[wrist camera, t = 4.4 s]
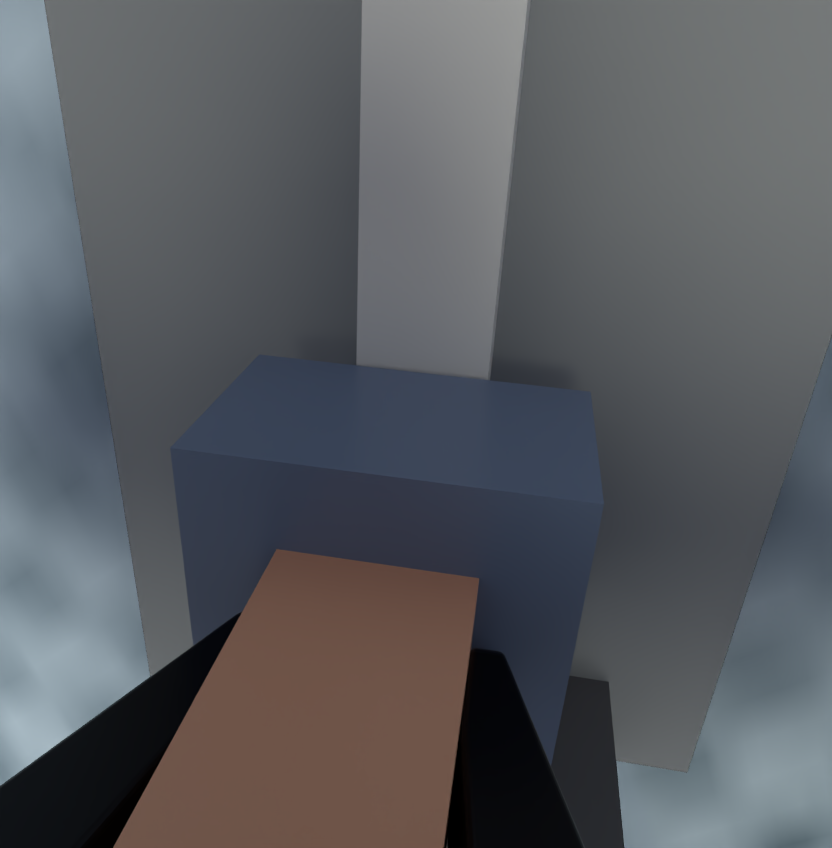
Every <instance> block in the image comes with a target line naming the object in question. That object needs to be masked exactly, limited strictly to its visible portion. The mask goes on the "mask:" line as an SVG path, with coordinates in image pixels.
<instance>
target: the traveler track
mask: <svg viewBox="0 0 832 848" xmlns="http://www.w3.org/2000/svg"><path fill="white" fill-rule="evenodd" d="M44 2H45V9H46V15H47V21H48V28H49V34H50V40H51V47H52V53H53V60H54V66H55V72H56V79H57V85H58V91H59V98H60V104H61V111H62V117H63V123H64V130H65V136H66V142H67V149H68V155H69V161H70V168H71V174H72V181H73V187H74V193H75V200H76V206H77V212H78V219H79V225H80V231H81V238H82V244H83V251H84V257H85V263H86V270H87V276H88V282H89V289H90V295H91V301H92V308H93V314H94V321H95V327H96V333H97V340H98V346H99V352H100V359H101V365H102V371H103V378H104V384H105V391H106V397H107V403H108V410H109V416H110V422H111V429H112V435H113V441H114V448H115V454H116V461H117V467H118V473H119V480H120V486H121V492H122V499H123V505H124V512H125V518H126V524H127V531H128V537H129V543H130V550H131V556H132V562H133V569H134V575H135V582H136V588H137V594H138V601H139V607H140V613H141V620H142V626H143V632H144V639H145V645H146V652H147V658H148V664H149V671H150V677H151V676H152V675H153V674H155V673H156V672H158V671H159V670H160V669H162V668H163V667H164V666H166V665H167V664H169V663H170V662H171V661H173V660H174V659H175V658H177V657H178V656H180V655H181V654H182V653H184V652H185V651H187V650H188V649H189V648H191V647H192V646H193V639H192V631H191V622H190V614H189V605H188V596H187V588H186V579H185V571H184V562H183V554H182V545H181V537H180V528H179V520H178V511H177V503H176V494H175V486H174V477H173V469H172V460H171V451H170V447H171V446H172V445H173V444H174V443H175V442H176V441H177V440H178V439H179V438H180V437H181V436H182V435H183V434H184V433H185V432H186V431H187V430H188V429H189V427H190V426H191V425H192V424H193V423H194V422H195V421H196V420H197V419H198V418H199V417H200V416H201V415H202V414H203V413H204V412H205V411H206V410H207V409H208V408H209V407H210V406H211V404H212V403H213V402H214V401H215V400H216V399H217V398H218V397H219V396H220V395H221V394H222V393H223V392H224V391H225V390H226V389H227V388H228V387H229V386H230V385H231V384H232V382H233V381H234V380H235V379H236V378H237V377H238V376H239V375H240V374H241V373H242V372H243V371H244V370H245V369H246V368H247V367H248V366H249V365H250V364H251V363H252V362H253V360H254V359H255V358H256V357H257V356H258V355H268V356H277V357H286V358H295V359H304V360H313V361H321V362H330V363H339V364H348V365H357V366H366V367H375V368H384V369H393V370H402V371H410V372H419V373H428V374H437V375H446V376H455V377H464V378H473V379H482V380H491V381H499V382H508V383H517V384H526V385H535V386H544V387H553V388H562V389H571V390H580V391H589V392H591V399H592V407H593V416H594V424H595V432H596V441H597V449H598V458H599V466H600V475H601V483H602V491H603V500H604V507H603V512H602V517H601V522H600V527H599V532H598V536H597V541H596V546H595V551H594V556H593V561H592V566H591V571H590V576H589V581H588V586H587V591H586V596H585V601H584V606H583V611H582V616H581V621H580V626H579V630H578V635H577V640H576V645H575V650H574V655H573V660H572V665H571V670H570V675H569V680H568V685H567V690H566V695H565V700H564V705H563V710H562V715H561V719H560V724H559V729H558V734H557V739H556V744H555V749H554V754H553V759H552V764H551V767H552V770H553V772H554V775H555V777H556V779H557V782H558V784H559V787H560V789H561V791H562V794H563V796H564V799H565V801H566V803H567V806H568V808H569V811H570V813H571V815H572V818H573V820H574V823H575V825H576V828H577V830H578V832H579V835H580V837H581V840H582V842H583V844H584V847H585V848H624V841H623V830H622V820H621V809H620V798H619V787H618V776H617V766H616V761H622V762H628V763H634V764H639V765H645V766H651V767H657V768H663V769H669V770H675V771H681V772H686V773H687V772H688V768H689V765H690V762H691V759H692V756H693V753H694V750H695V747H696V744H697V741H698V738H699V735H700V732H701V729H702V726H703V723H704V720H705V717H706V714H707V711H708V708H709V705H710V702H711V699H712V696H713V693H714V690H715V687H716V684H717V681H718V678H719V675H720V672H721V669H722V666H723V663H724V660H725V657H726V654H727V651H728V648H729V645H730V641H731V638H732V635H733V632H734V629H735V626H736V623H737V620H738V617H739V614H740V611H741V608H742V605H743V602H744V599H745V596H746V593H747V590H748V587H749V584H750V581H751V578H752V575H753V572H754V569H755V566H756V563H757V560H758V557H759V554H760V551H761V548H762V545H763V542H764V539H765V536H766V533H767V530H768V527H769V524H770V521H771V517H772V514H773V511H774V508H775V505H776V502H777V499H778V496H779V493H780V490H781V487H782V484H783V481H784V478H785V475H786V472H787V469H788V466H789V463H790V460H791V457H792V454H793V451H794V448H795V445H796V442H797V439H798V436H799V433H800V430H801V427H802V424H803V421H804V418H805V415H806V412H807V409H808V406H809V403H810V400H811V397H812V394H813V390H814V387H815V384H816V381H817V378H818V375H819V372H820V369H821V366H822V363H823V360H824V357H825V354H826V351H827V348H828V345H829V342H830V339H831V336H832V0H44ZM447 844H448V840H447Z"/></svg>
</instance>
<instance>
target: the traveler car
mask: <svg viewBox="0 0 832 848" xmlns="http://www.w3.org/2000/svg"><path fill="white" fill-rule="evenodd" d="M170 451H171V460H172V469H173V477H174V486H175V494H176V503H177V511H178V520H179V528H180V537H181V545H182V554H183V562H184V571H185V579H186V588H187V596H188V605H189V614H190V622H191V631H192V639H193V645H195V644H196V643H198V642H199V641H200V640H202V639H203V638H204V637H206V636H207V635H209V634H210V633H211V632H213V631H214V630H215V629H217V628H218V627H220V626H221V625H222V624H224V623H225V622H226V621H228V620H229V619H231V618H232V617H233V616H235V615H236V614H238V613H240V612H242V613H241V615H240V617H239V619H238V621H237V622H236V624H235V626H234V628H233V630H232V632H231V633H230V635H229V637H228V639H227V641H226V642H225V644H224V646H223V648H222V650H221V652H220V653H219V655H218V657H217V659H216V661H215V663H214V664H213V666H212V668H211V670H210V672H209V674H208V675H207V677H206V679H205V681H204V683H203V684H202V686H201V688H200V690H199V692H198V694H197V695H196V697H195V699H194V701H193V703H192V705H191V706H190V708H189V710H188V712H187V714H186V716H185V717H184V719H183V721H182V723H181V725H180V726H179V728H178V730H177V732H176V734H175V736H174V737H173V739H172V741H171V743H170V745H169V747H168V748H167V750H166V752H165V754H164V756H163V758H162V759H161V761H160V763H159V765H158V767H157V768H156V770H155V772H154V774H153V776H152V778H151V779H150V781H149V783H148V785H147V787H146V789H145V790H144V792H143V794H142V796H141V798H140V799H139V801H138V803H137V805H136V807H135V809H134V810H133V812H132V814H131V816H130V818H129V820H128V821H127V823H126V825H125V827H124V829H123V831H122V832H121V834H120V836H119V838H118V840H117V841H116V843H115V845H114V847H113V848H447V840H448V830H449V821H450V813H451V804H452V795H453V786H454V777H455V769H456V760H457V751H458V742H459V733H460V725H461V718H462V710H463V703H464V696H465V688H466V681H467V674H468V666H469V659H470V652H471V650H472V649H473V648H481V649H487V650H494V651H499V652H502V653H503V654H504V655H505V657H506V659H507V661H508V664H509V666H510V669H511V671H512V673H513V676H514V678H515V681H516V683H517V685H518V688H519V690H520V693H521V695H522V697H523V700H524V702H525V705H526V707H527V710H528V712H529V714H530V717H531V719H532V722H533V724H534V726H535V729H536V731H537V734H538V736H539V738H540V741H541V743H542V746H543V748H544V750H545V753H546V755H547V758H548V760H549V762H550V765H551V764H552V759H553V754H554V749H555V744H556V739H557V734H558V729H559V724H560V719H561V715H562V710H563V705H564V700H565V695H566V690H567V685H568V680H569V675H570V670H571V665H572V660H573V655H574V650H575V645H576V640H577V635H578V630H579V626H580V621H581V616H582V611H583V606H584V601H585V596H586V591H587V586H588V581H589V576H590V571H591V566H592V561H593V556H594V551H595V546H596V541H597V536H598V532H599V527H600V522H601V517H602V512H603V507H604V500H603V491H602V483H601V475H600V466H599V458H598V449H597V441H596V432H595V424H594V416H593V407H592V399H591V392H589V391H580V390H571V389H562V388H553V387H544V386H535V385H526V384H517V383H508V382H499V381H491V380H482V379H473V378H464V377H455V376H446V375H437V374H428V373H419V372H410V371H402V370H393V369H384V368H375V367H366V366H357V365H348V364H339V363H330V362H321V361H313V360H304V359H295V358H286V357H277V356H268V355H258V356H257V357H256V358H255V359H254V360H253V362H252V363H251V364H250V365H249V366H248V367H247V368H246V369H245V370H244V371H243V372H242V373H241V374H240V375H239V376H238V377H237V378H236V379H235V380H234V381H233V382H232V384H231V385H230V386H229V387H228V388H227V389H226V390H225V391H224V392H223V393H222V394H221V395H220V396H219V397H218V398H217V399H216V400H215V401H214V402H213V403H212V404H211V406H210V407H209V408H208V409H207V410H206V411H205V412H204V413H203V414H202V415H201V416H200V417H199V418H198V419H197V420H196V421H195V422H194V423H193V424H192V425H191V426H190V427H189V429H188V430H187V431H186V432H185V433H184V434H183V435H182V436H181V437H180V438H179V439H178V440H177V441H176V442H175V443H174V444H173V445H172V446H171V447H170Z"/></svg>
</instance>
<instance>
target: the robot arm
mask: <svg viewBox="0 0 832 848" xmlns="http://www.w3.org/2000/svg"><path fill="white" fill-rule="evenodd" d="M241 613H242V612H240V613H238V614H236V615H235V616H233V617H232V618H231V619H229V620H228V621H226V622H225V623H224V624H222V625H221V626H220V627H218V628H217V629H215V630H214V631H213V632H211V633H210V634H209V635H207V636H206V637H204V638H203V639H202V640H200V641H199V642H198V643H196V644H195V645H193V646H192V647H191V648H189V649H188V650H187V651H185V652H184V653H182V654H181V655H180V656H178V657H177V658H175V659H174V660H173V661H171V662H170V663H169V664H167V665H166V666H164V667H163V668H162V669H160V670H159V671H158V672H156V673H155V674H153V675H152V676H151V677H149V678H148V679H147V680H145V681H144V682H142V683H141V684H140V685H138V686H137V687H136V688H134V689H133V690H131V691H130V692H129V693H127V694H126V695H125V696H123V697H122V698H120V699H119V700H118V701H116V702H115V703H114V704H112V705H111V706H109V707H108V708H107V709H105V710H104V711H103V712H101V713H100V714H98V715H97V716H96V717H94V718H93V719H92V720H90V721H89V722H87V723H86V724H85V725H83V726H82V727H81V728H79V729H78V730H76V731H75V732H74V733H72V734H71V735H70V736H68V737H67V738H65V739H64V740H63V741H61V742H60V743H59V744H57V745H56V746H54V747H53V748H52V749H50V750H49V751H48V752H46V753H45V754H43V755H42V756H41V757H39V758H38V759H37V760H35V761H34V762H32V763H31V764H30V765H28V766H27V767H26V768H24V769H23V770H21V771H20V772H19V773H17V774H16V775H15V776H13V777H12V778H10V779H9V780H8V781H6V782H5V783H4V784H2V785H1V786H0V848H113V847H114V845H115V843H116V841H117V840H118V838H119V836H120V834H121V832H122V831H123V829H124V827H125V825H126V823H127V821H128V820H129V818H130V816H131V814H132V812H133V810H134V809H135V807H136V805H137V803H138V801H139V799H140V798H141V796H142V794H143V792H144V790H145V789H146V787H147V785H148V783H149V781H150V779H151V778H152V776H153V774H154V772H155V770H156V768H157V767H158V765H159V763H160V761H161V759H162V758H163V756H164V754H165V752H166V750H167V748H168V747H169V745H170V743H171V741H172V739H173V737H174V736H175V734H176V732H177V730H178V728H179V726H180V725H181V723H182V721H183V719H184V717H185V716H186V714H187V712H188V710H189V708H190V706H191V705H192V703H193V701H194V699H195V697H196V695H197V694H198V692H199V690H200V688H201V686H202V684H203V683H204V681H205V679H206V677H207V675H208V674H209V672H210V670H211V668H212V666H213V664H214V663H215V661H216V659H217V657H218V655H219V653H220V652H221V650H222V648H223V646H224V644H225V642H226V641H227V639H228V637H229V635H230V633H231V632H232V630H233V628H234V626H235V624H236V622H237V621H238V619H239V617H240V615H241ZM447 848H585V847H584V844H583V842H582V840H581V837H580V835H579V832H578V830H577V828H576V825H575V823H574V820H573V818H572V815H571V813H570V811H569V808H568V806H567V803H566V801H565V799H564V796H563V794H562V791H561V789H560V787H559V784H558V782H557V779H556V777H555V775H554V772H553V770H552V767H551V765H550V762H549V760H548V758H547V755H546V753H545V750H544V748H543V746H542V743H541V741H540V738H539V736H538V734H537V731H536V729H535V726H534V724H533V722H532V719H531V717H530V714H529V712H528V710H527V707H526V705H525V702H524V700H523V697H522V695H521V693H520V690H519V688H518V685H517V683H516V681H515V678H514V676H513V673H512V671H511V669H510V666H509V664H508V661H507V659H506V657H505V655H504V654H503V653H502V652H499V651H494V650H487V649H481V648H473V649H472V650H471V652H470V659H469V666H468V674H467V681H466V688H465V696H464V703H463V710H462V718H461V725H460V733H459V742H458V751H457V760H456V769H455V777H454V786H453V795H452V804H451V813H450V821H449V830H448V844H447Z"/></svg>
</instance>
